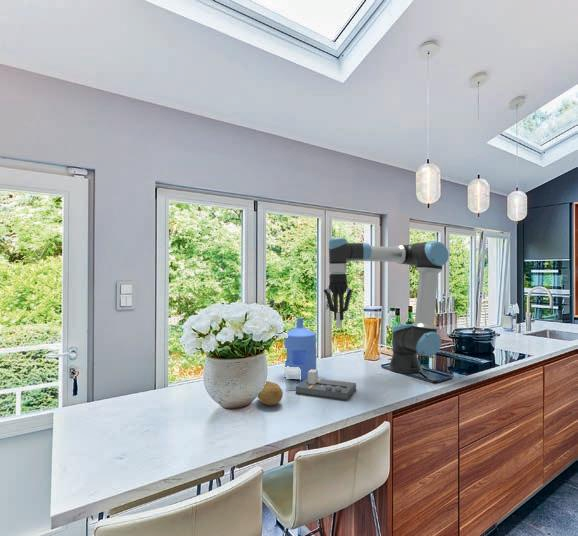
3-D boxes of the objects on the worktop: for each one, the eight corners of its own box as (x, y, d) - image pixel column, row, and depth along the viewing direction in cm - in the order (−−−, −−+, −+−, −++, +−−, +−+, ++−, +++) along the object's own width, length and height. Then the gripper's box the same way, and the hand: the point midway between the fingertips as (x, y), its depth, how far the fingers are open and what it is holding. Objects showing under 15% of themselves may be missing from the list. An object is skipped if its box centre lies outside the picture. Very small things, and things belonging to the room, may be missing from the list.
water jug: (300, 369, 187) (299, 316, 187) (323, 375, 176) (322, 318, 176) (278, 376, 176) (277, 319, 176) (301, 383, 165) (300, 322, 165)
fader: (318, 386, 156) (317, 369, 156) (314, 389, 153) (314, 372, 153) (311, 385, 158) (311, 369, 158) (308, 388, 154) (307, 371, 154)
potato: (273, 396, 149) (273, 376, 149) (288, 407, 136) (288, 386, 136) (251, 400, 144) (250, 380, 145) (264, 412, 132) (264, 390, 132)
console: (356, 390, 154) (355, 379, 154) (346, 401, 142) (346, 389, 142) (308, 384, 164) (308, 374, 164) (295, 393, 151) (295, 383, 151)
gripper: (354, 273, 158) (355, 327, 158) (326, 273, 164) (327, 325, 164) (350, 273, 151) (351, 329, 151) (321, 273, 157) (322, 328, 157)
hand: (339, 327), depth 157 cm, fingers closed
